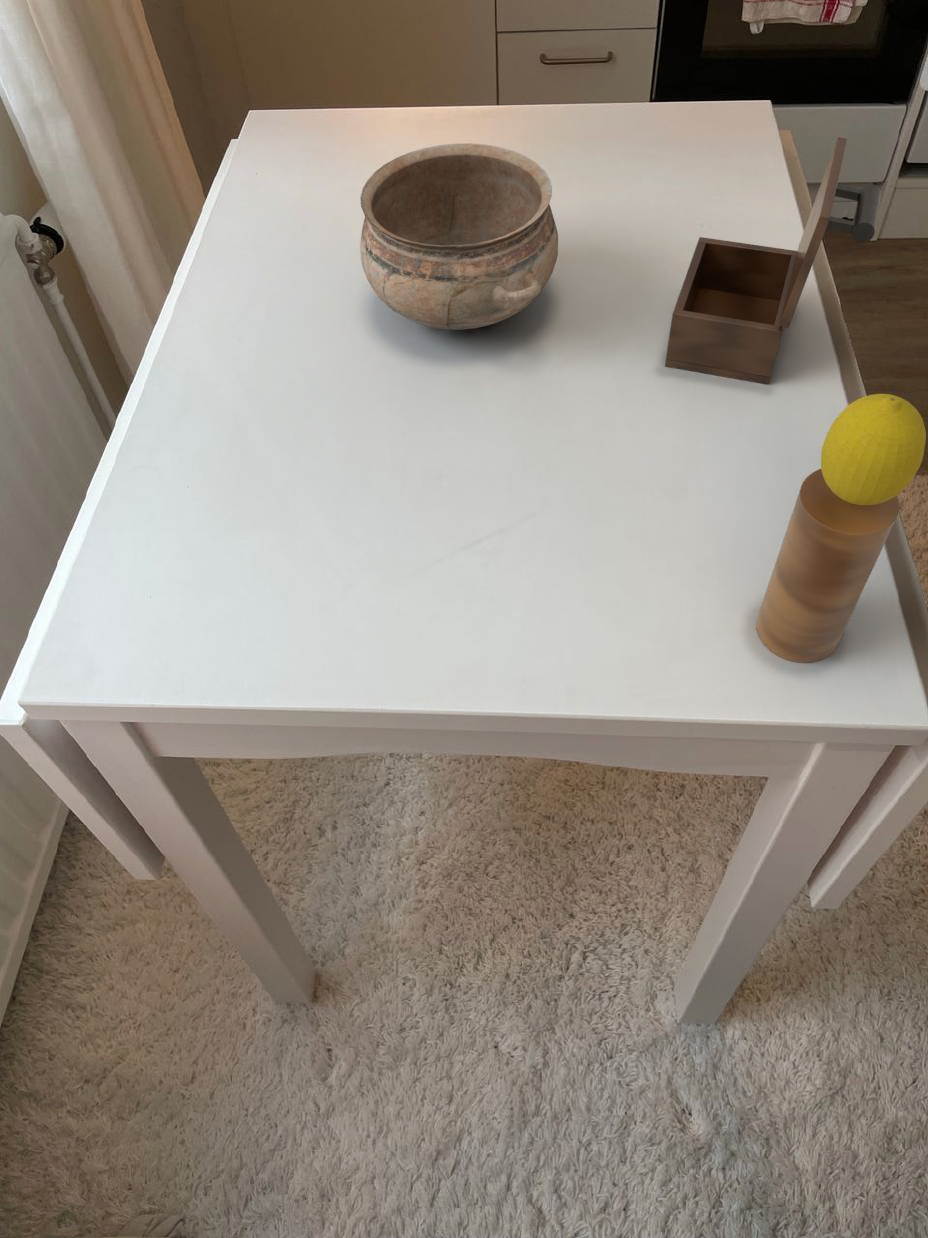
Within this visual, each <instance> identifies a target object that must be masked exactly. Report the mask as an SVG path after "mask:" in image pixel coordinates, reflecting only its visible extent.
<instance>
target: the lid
mask: <svg viewBox="0 0 928 1238" xmlns="http://www.w3.org/2000/svg"><path fill="white" fill-rule="evenodd" d="M847 142H848V139H847V138H845V137H840V136H838V137H837V139H836V141H835V144H834V147H833V149H832V153H831V154H830V158H829V160H828V163H827V166H826V169H825V172H824V175H823V177H822V180H821V182H820V186H819V188H818V191H817V194H816V196H815V200H814V202H813V205H812V208H811V211H810V213H809V216H808V219H807V222H806V223H805V227H804V230H803V232H802V236H801V237H800V242H799V243H798V247H797V250H796V251H797V255H796V259H795V263H794V267H793V271H792V275H791V279H790V283H789V288H788V292H787V296H786V300H785V304H784V308H783V312H782V316H781V320H780V324H779V326H782V327H783V328H786V329H788V328H789V327H790V325H791V322H792V320H793V317H794V314H795V312H796V309H797V307H798V304H799V301H800V298H801V295H802V293H803V290H804V288H805V286H806V282H807V280H808V278H809V275H810V272H811V269H812V266H813V264H814V261H815V259H816V256H817V254H818V251H819V248H820V246H821V243H822V240H823V238H824V236H825V233H826V230H827V229H829V230H830V229H831V230H835V231H838V232H839V231H840V232H843V233H849V234H850V237H851V239H852V241H854V242H855V243H857V244H864V243H868V242H870V241H871V240H872V239H873V238H874V236H875V233H876V227H877V221H878V215H879V209H880V204H881V199H882V198H881V196H882V190H881V188H880V186H878V185H876V184H873V183H870V184H866V185H864V186H863V187H861V188H855V187H850V186H846V185H841V184H839V178H840V174H841V169H842V165H843V161H844V156H845V151H846V147H847ZM835 197H837V198H842V199H846V200H851V201H855V202H856V204H855V209H854V210H855V211H854V214H853V219H852V220H849V219H845V218H841V217H835V216H832V210H833V206H834V201H835Z"/></svg>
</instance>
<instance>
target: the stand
mask: <svg viewBox="0 0 928 1238" xmlns="http://www.w3.org/2000/svg"><path fill="white" fill-rule="evenodd" d="M791 512H792V513H791V514H790V519H789V521H788V524H787V527H786V530H785V533H784V536H783V539H782V542H781V545H780V548H779V551H778V554H777V558H776V561H775V563H774V566H773V569H772V571H771V576H770V579H769V581H768V584H767V588H766V591H765V593H764V596H763V599H762V602H761V606H760V609H759V612H758V614H757V617H756V623H755V627H756V632H757V635H758V637H759V639H760V641H761V643H762V644H763V645H764V646H765V647H766V648H767V649H768V650H769V651H770V652H772V653H773V654H774V655H776V656H778V657H779V658H782V659H784V660H787V661H790V662H795V663H800V664H801V663H802V664H804V663H815V662H818V661H821V660H824V659H825V658H828V657H829V656H830V655H831V654H833V652H835V650H836V649H837V647H838V645H839V643H840V641H841V638H842V636H843V635H844V632H845V629H846V628H847V626H848V623H849V621H850V619H851V617H852V615H853V612H854V610H855V609H856V607H857V604H858V602H859V599H860V597H861V595H862V593H863V591H864V589H865V586H866V585H867V583H868V580H869V578H870V576H871V574H872V572H873V569H874V567H875V565H876V564H877V561H878V559H879V557H880V555H881V552H882V550H883V548H884V546H885V544H886V541H887V539H888V537H889V535H890V533H891V531H892V528H893V526H894V524H895V522H896V520H897V518H898V516H899V512H900V501H899V498H898V495H897V496H895V497H894V498H892V499H890V500H887V501H885V502H883V503H880V504H875V505H857V504H852V503H849V502H846V501H845V500H843V499H841V498H839V497H838V496H837V495H836V494H834V493H833V492H832V491H831V489H830V488H829V487H828V485H827V484H826V482H825V480H824V477H823V474H822V470H821V468H818V469H817V470H814V471H813V472H811V473H809V475H808V476H806V477H805V478H804V480H803V482H802V483H801V486H800V489H799V491H798V495H797V498H796V501H795V503H794V507H793V509H792V511H791Z"/></svg>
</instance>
